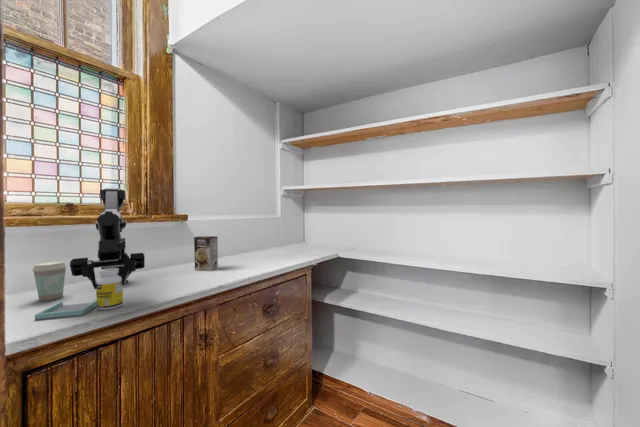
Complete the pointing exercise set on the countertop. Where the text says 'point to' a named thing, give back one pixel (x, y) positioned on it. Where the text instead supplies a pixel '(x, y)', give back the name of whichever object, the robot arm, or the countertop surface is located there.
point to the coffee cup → (50, 279)
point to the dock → (65, 310)
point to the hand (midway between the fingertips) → (109, 286)
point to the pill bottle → (109, 289)
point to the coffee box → (206, 253)
